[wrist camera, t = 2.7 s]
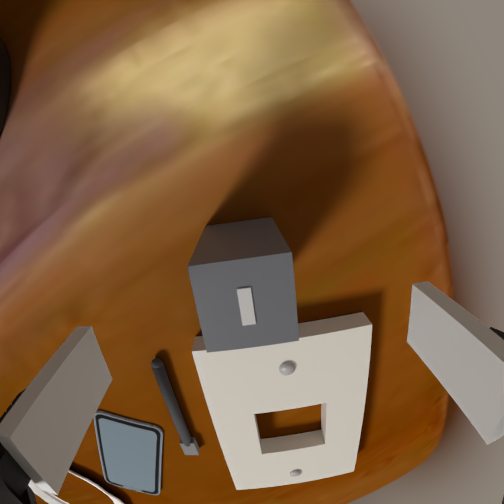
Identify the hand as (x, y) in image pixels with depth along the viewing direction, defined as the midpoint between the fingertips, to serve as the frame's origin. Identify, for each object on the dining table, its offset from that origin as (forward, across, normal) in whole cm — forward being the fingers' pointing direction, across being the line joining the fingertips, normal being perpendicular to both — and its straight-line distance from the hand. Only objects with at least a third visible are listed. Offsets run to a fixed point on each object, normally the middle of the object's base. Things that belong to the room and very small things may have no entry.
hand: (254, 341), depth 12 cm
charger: (+10, 0, 0) cm, 10 cm away
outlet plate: (+10, +2, -16) cm, 19 cm away
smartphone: (+11, -16, -22) cm, 29 cm away
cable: (+10, -8, -12) cm, 18 cm away
